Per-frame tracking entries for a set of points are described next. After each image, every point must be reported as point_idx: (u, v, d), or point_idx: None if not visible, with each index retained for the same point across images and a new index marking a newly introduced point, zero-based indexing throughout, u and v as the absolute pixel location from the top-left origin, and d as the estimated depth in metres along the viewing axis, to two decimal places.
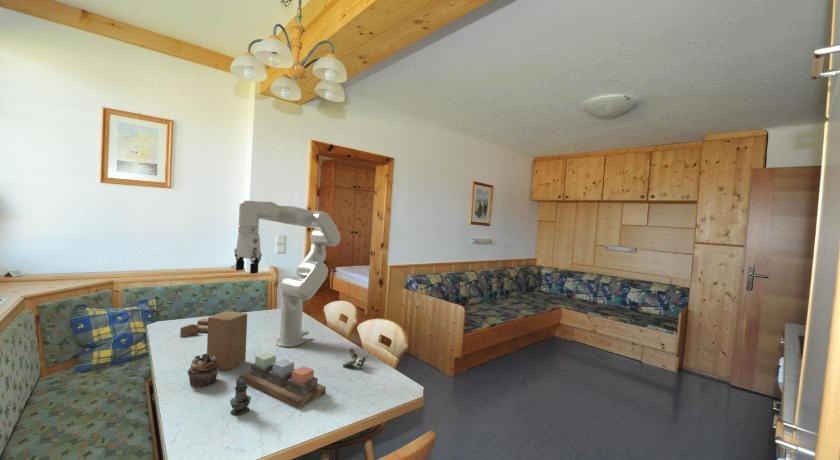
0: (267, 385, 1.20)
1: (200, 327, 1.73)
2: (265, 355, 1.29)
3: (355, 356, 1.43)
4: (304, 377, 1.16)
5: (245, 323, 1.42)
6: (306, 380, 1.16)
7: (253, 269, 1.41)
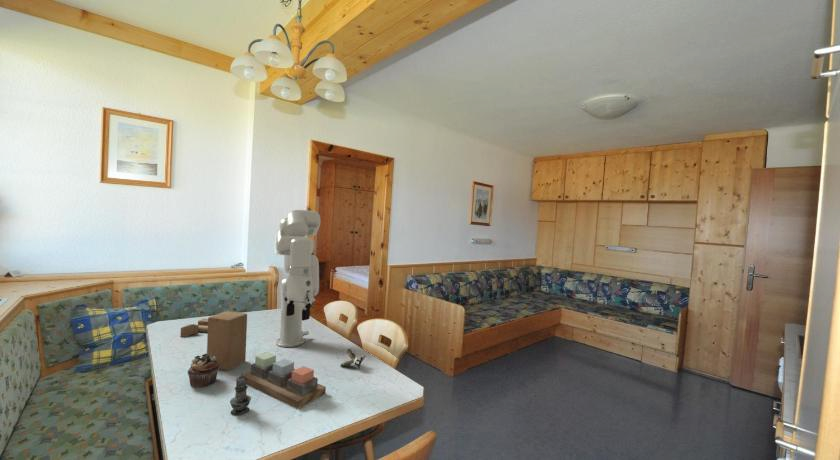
0: (267, 385, 1.20)
1: (200, 327, 1.73)
2: (265, 355, 1.29)
3: (353, 356, 1.44)
4: (304, 377, 1.16)
5: (245, 323, 1.42)
6: (306, 380, 1.16)
7: (305, 315, 1.28)
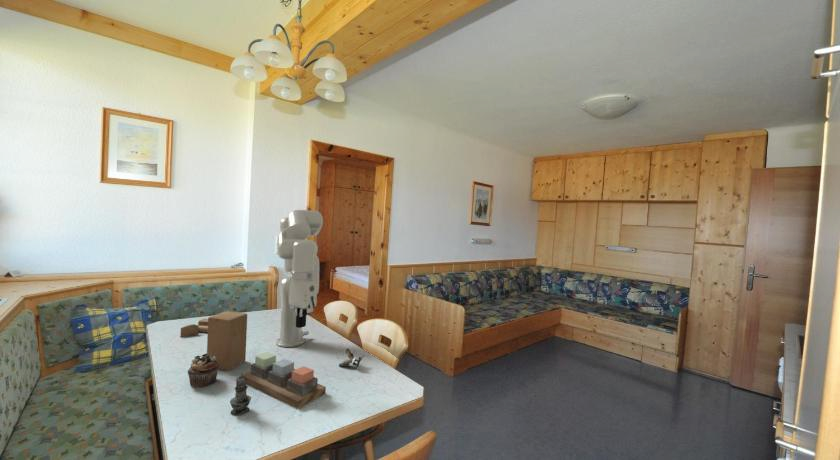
0: (267, 385, 1.20)
1: (200, 327, 1.73)
2: (265, 355, 1.29)
3: (351, 356, 1.44)
4: (304, 377, 1.16)
5: (245, 323, 1.42)
6: (306, 380, 1.16)
7: (301, 323, 1.24)
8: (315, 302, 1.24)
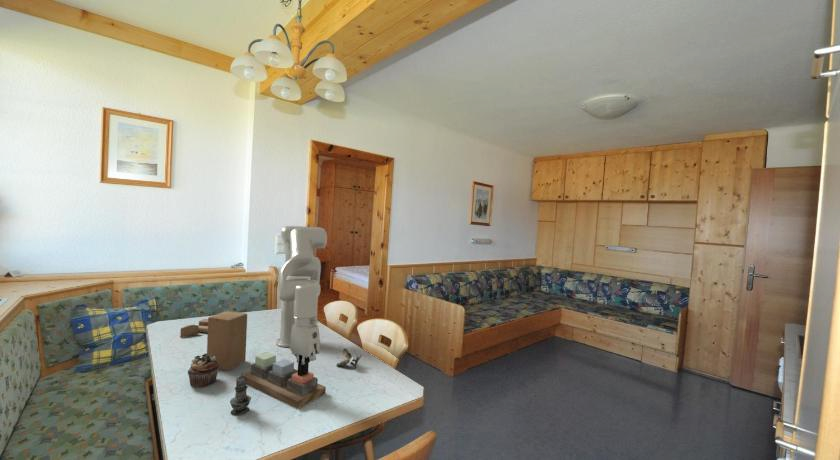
0: (267, 385, 1.20)
1: (201, 327, 1.72)
2: (265, 355, 1.29)
3: (349, 355, 1.44)
4: (304, 380, 1.16)
5: (245, 323, 1.42)
6: None
7: (303, 371, 1.17)
8: (318, 349, 1.17)
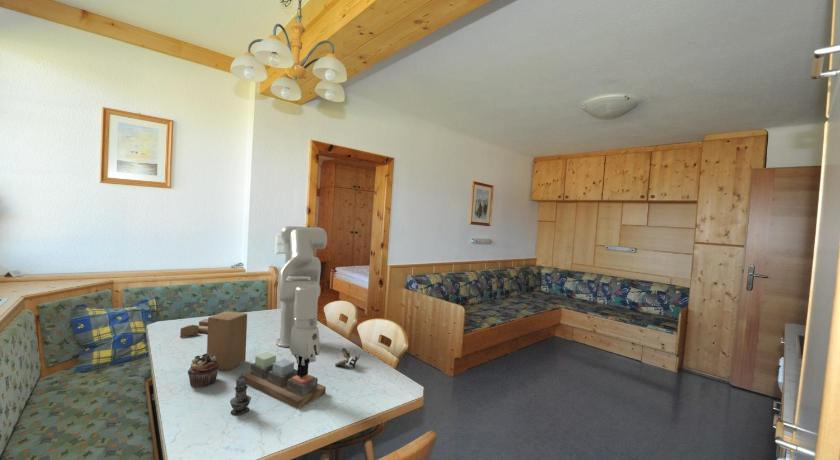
0: (267, 385, 1.20)
1: (201, 328, 1.72)
2: (265, 355, 1.29)
3: (348, 355, 1.44)
4: (304, 383, 1.16)
5: (245, 323, 1.42)
6: None
7: (303, 372, 1.17)
8: (318, 350, 1.17)
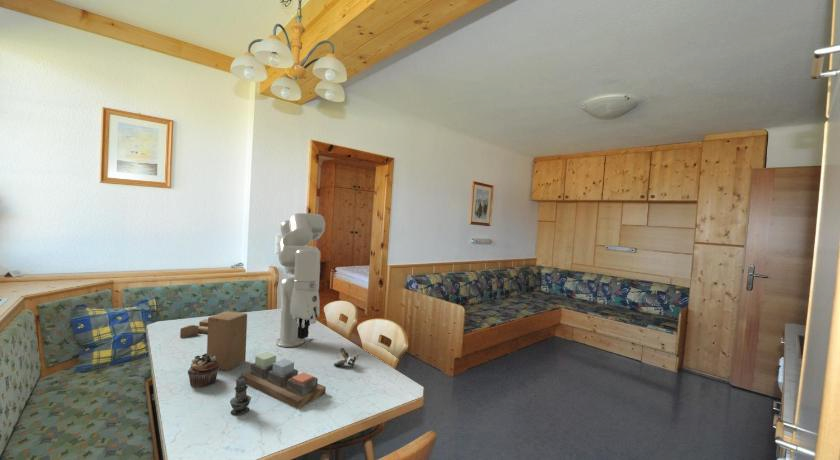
0: (267, 385, 1.20)
1: (201, 328, 1.72)
2: (265, 355, 1.29)
3: (346, 355, 1.44)
4: (304, 383, 1.16)
5: (245, 323, 1.42)
6: None
7: (303, 334, 1.19)
8: (318, 313, 1.19)
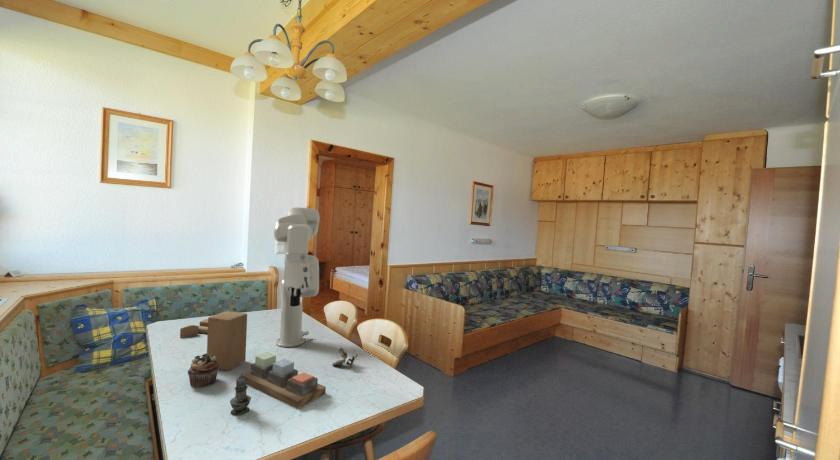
0: (267, 385, 1.20)
1: (201, 328, 1.72)
2: (265, 355, 1.29)
3: (345, 355, 1.44)
4: (304, 383, 1.16)
5: (245, 323, 1.42)
6: None
7: (295, 302, 1.31)
8: (308, 282, 1.31)
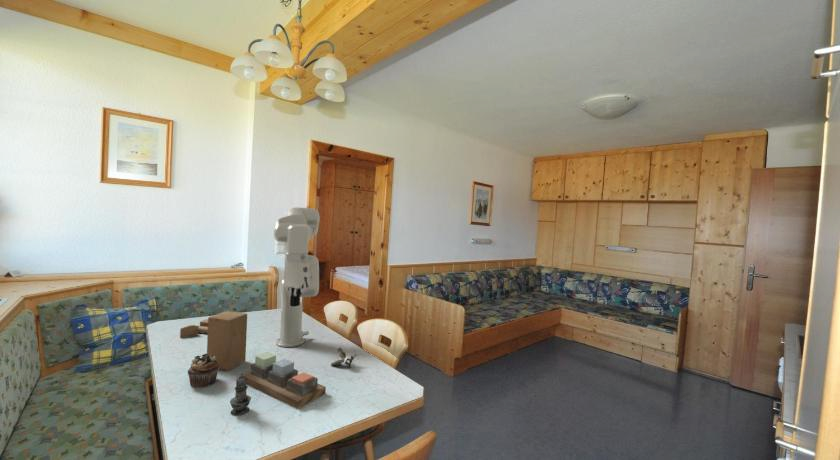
0: (267, 385, 1.20)
1: (201, 328, 1.71)
2: (265, 355, 1.29)
3: (343, 355, 1.44)
4: (304, 383, 1.16)
5: (245, 323, 1.42)
6: None
7: (295, 302, 1.31)
8: (308, 282, 1.31)
